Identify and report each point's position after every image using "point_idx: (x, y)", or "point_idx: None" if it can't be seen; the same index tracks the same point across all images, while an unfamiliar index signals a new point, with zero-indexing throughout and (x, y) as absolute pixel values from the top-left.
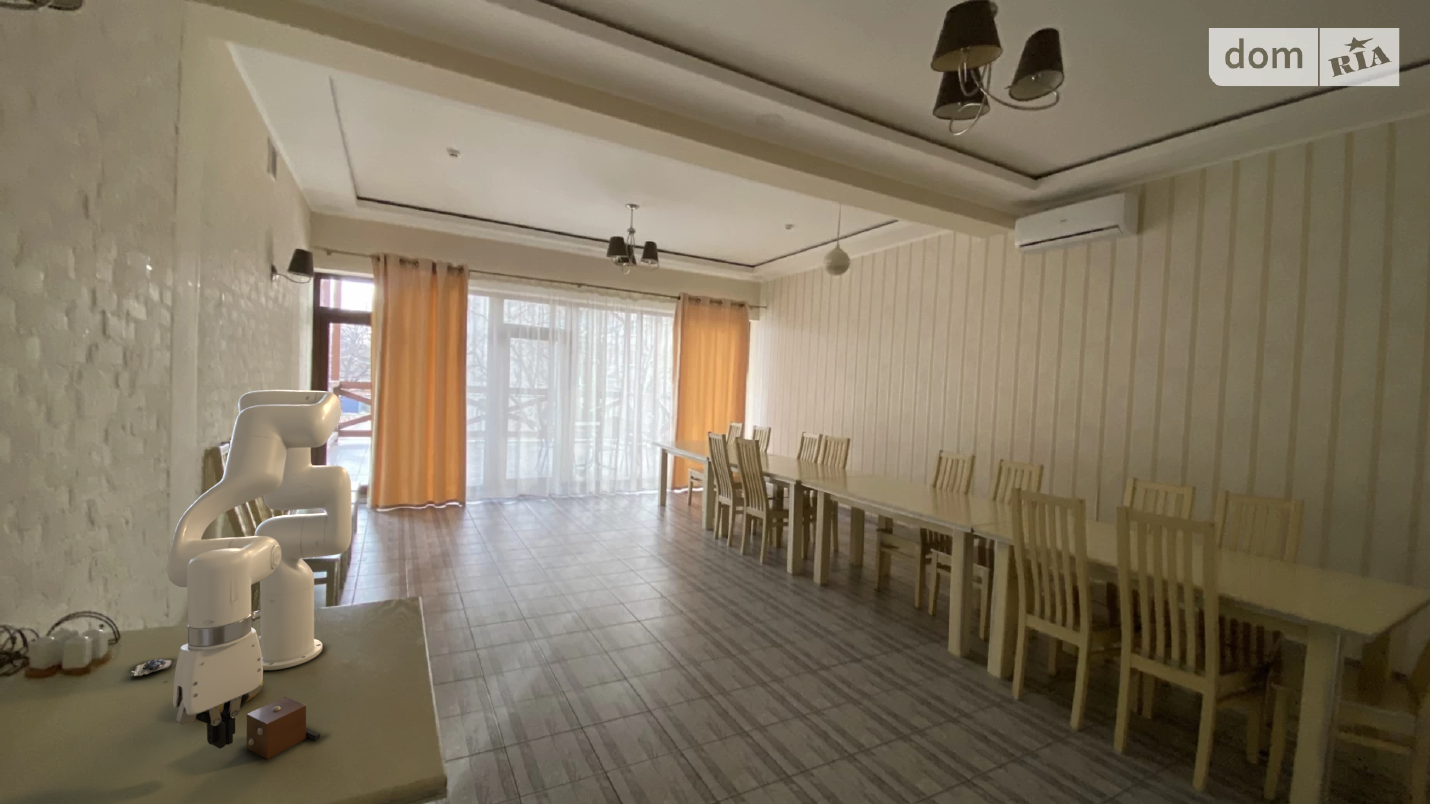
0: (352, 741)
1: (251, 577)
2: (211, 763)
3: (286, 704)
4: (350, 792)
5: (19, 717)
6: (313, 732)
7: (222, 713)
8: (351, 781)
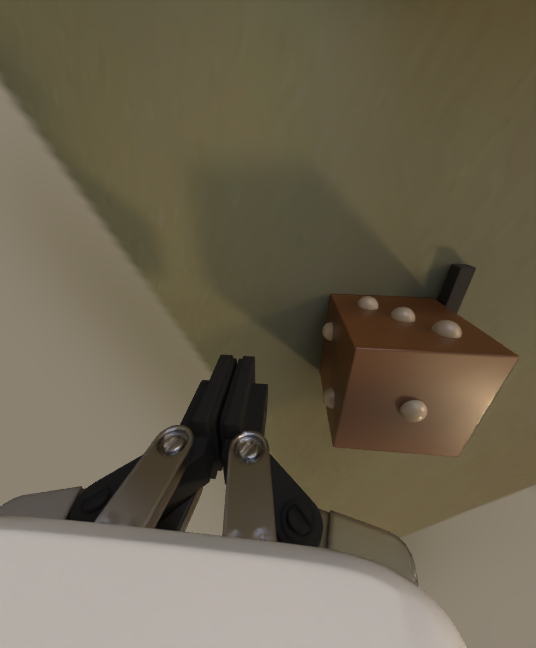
0: None
1: None
2: (256, 278)
3: (451, 409)
4: None
5: None
6: None
7: (224, 463)
8: (329, 500)
